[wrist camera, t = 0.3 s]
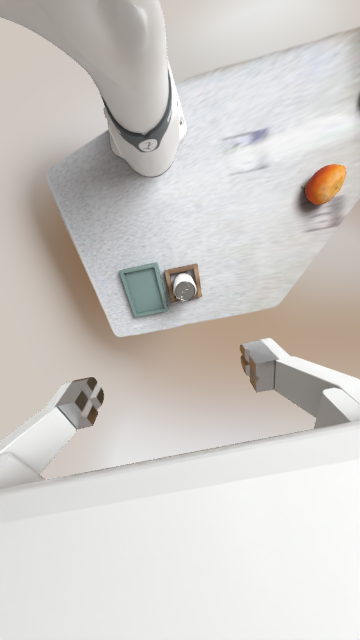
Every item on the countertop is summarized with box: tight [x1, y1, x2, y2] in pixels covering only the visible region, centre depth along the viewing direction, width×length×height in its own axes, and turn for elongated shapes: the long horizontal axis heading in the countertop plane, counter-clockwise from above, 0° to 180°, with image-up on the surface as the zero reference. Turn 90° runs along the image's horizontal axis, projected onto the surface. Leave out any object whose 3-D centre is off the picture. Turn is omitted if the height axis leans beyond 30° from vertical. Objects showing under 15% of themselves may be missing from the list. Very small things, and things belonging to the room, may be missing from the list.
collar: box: [165, 264, 202, 302], centre depth 53 cm, size 10×10×2 cm
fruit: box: [302, 164, 346, 205], centre depth 42 cm, size 8×8×8 cm
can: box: [173, 273, 196, 302], centre depth 49 cm, size 6×6×12 cm
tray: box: [119, 262, 168, 317], centre depth 54 cm, size 16×12×2 cm
